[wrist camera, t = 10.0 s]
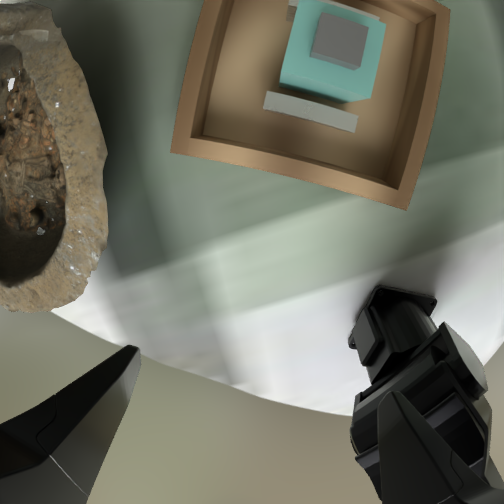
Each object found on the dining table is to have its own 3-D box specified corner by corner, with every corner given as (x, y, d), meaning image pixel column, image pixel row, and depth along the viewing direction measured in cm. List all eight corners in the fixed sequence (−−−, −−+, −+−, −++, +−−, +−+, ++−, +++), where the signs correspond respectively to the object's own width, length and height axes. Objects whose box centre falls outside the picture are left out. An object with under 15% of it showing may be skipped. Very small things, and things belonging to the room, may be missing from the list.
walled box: (426, 21, 13) (450, 9, 10) (387, 195, 19) (406, 211, 16) (231, -35, 13) (224, -58, 9) (187, 146, 19) (170, 152, 15)
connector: (354, 49, 15) (394, 18, 8) (341, 104, 16) (378, 96, 10) (292, 31, 14) (302, -13, 8) (278, 86, 16) (281, 67, 10)
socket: (365, 30, 14) (379, 17, 11) (342, 130, 17) (354, 133, 14) (289, 8, 14) (291, -9, 11) (264, 110, 17) (262, 108, 14)
